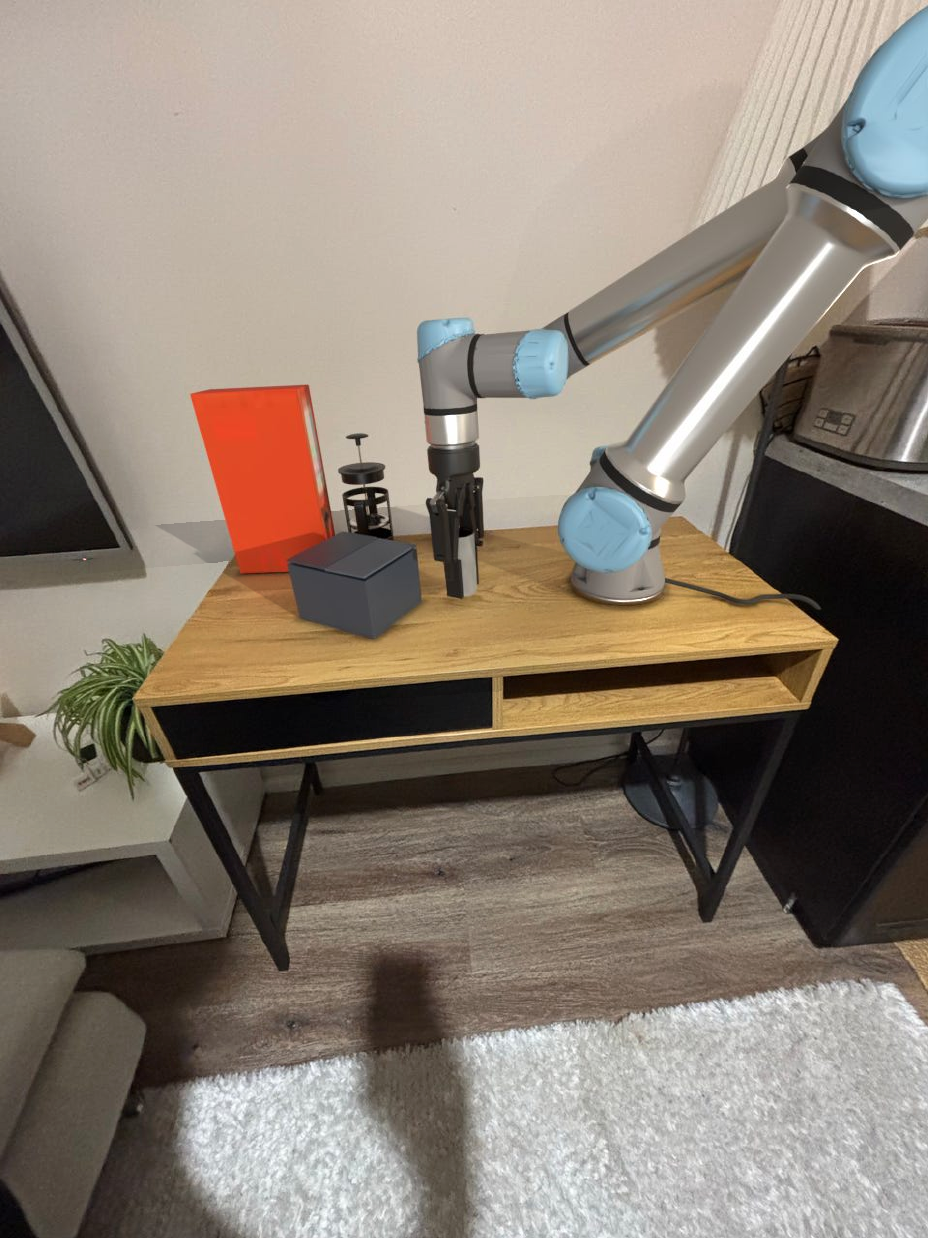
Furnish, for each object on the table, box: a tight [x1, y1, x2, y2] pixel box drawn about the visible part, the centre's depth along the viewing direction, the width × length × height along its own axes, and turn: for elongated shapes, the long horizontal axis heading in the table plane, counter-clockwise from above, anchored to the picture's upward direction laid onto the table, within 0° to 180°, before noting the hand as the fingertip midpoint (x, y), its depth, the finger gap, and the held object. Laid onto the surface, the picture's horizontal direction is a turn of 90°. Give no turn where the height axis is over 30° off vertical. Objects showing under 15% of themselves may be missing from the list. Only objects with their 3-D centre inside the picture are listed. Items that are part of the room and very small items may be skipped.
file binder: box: [190, 384, 336, 574], centre depth 94 cm, size 8×17×32 cm, turn 90°
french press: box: [337, 432, 395, 541], centre depth 100 cm, size 12×9×23 cm
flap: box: [324, 538, 417, 579], centre depth 78 cm, size 7×13×1 cm, turn 151°
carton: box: [287, 531, 423, 640], centre depth 82 cm, size 15×13×10 cm
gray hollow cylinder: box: [458, 527, 478, 598], centre depth 82 cm, size 4×4×10 cm
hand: (463, 589), depth 85 cm, fingers closed on gray hollow cylinder, 5 cm apart
